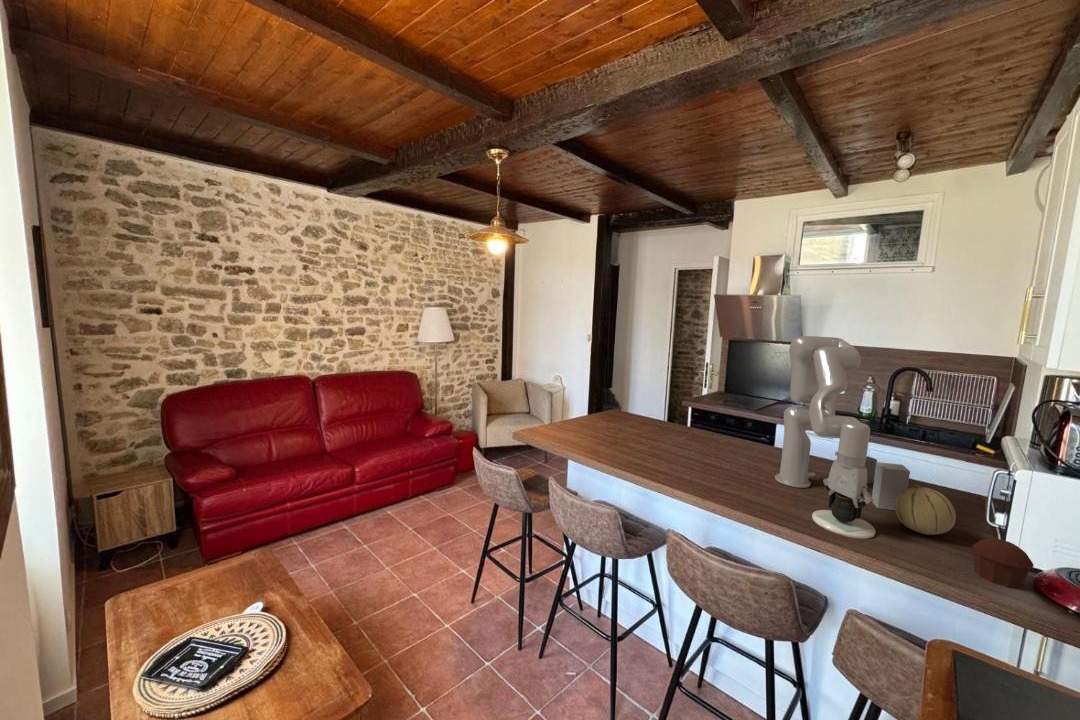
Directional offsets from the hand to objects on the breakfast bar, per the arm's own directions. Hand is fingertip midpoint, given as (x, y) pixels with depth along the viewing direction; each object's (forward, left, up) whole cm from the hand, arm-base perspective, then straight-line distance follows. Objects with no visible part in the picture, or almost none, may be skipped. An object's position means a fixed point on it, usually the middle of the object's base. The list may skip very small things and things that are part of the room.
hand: (843, 512), depth 142 cm
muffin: (-15, +32, -5) cm, 36 cm away
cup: (-46, -28, -5) cm, 54 cm away
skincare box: (-30, -7, -5) cm, 31 cm away
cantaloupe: (-22, +9, -5) cm, 24 cm away
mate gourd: (0, 0, -3) cm, 3 cm away
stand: (0, 0, -4) cm, 4 cm away
